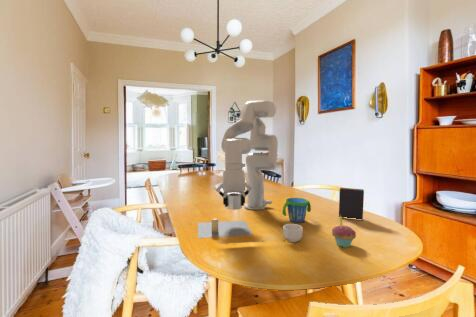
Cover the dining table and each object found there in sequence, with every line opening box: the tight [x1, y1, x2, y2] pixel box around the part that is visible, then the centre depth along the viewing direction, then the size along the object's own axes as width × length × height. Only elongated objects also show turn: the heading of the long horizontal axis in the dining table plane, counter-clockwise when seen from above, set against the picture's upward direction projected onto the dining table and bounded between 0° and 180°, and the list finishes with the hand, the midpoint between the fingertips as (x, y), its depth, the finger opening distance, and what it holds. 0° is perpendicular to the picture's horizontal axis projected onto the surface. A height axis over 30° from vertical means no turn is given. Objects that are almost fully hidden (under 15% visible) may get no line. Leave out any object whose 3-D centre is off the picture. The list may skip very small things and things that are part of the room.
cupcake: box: [331, 215, 357, 248], centre depth 100 cm, size 9×8×12 cm
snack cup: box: [282, 197, 312, 223], centre depth 129 cm, size 16×10×10 cm
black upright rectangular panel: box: [338, 187, 365, 220], centre depth 132 cm, size 11×4×15 cm, turn 65°
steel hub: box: [225, 192, 243, 211], centre depth 119 cm, size 7×7×6 cm
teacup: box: [282, 223, 304, 243], centre depth 106 cm, size 10×8×5 cm
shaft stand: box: [197, 217, 254, 239], centre depth 114 cm, size 22×18×7 cm
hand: (234, 205), depth 119 cm, fingers closed on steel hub, 7 cm apart
